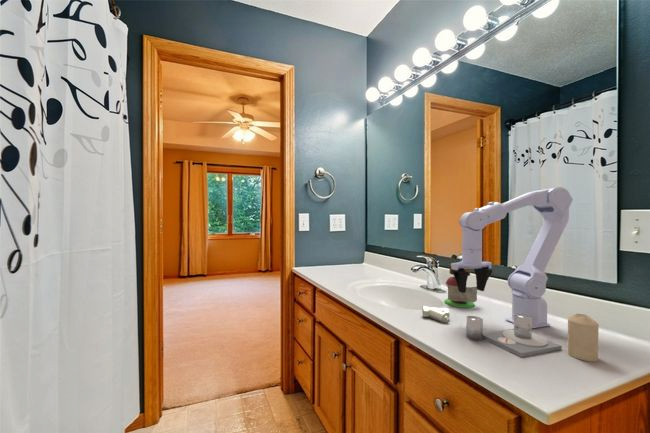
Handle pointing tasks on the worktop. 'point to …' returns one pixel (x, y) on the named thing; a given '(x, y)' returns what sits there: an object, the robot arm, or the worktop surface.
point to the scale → (521, 343)
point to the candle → (583, 337)
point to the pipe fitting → (436, 313)
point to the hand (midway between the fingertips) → (471, 291)
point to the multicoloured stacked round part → (460, 294)
